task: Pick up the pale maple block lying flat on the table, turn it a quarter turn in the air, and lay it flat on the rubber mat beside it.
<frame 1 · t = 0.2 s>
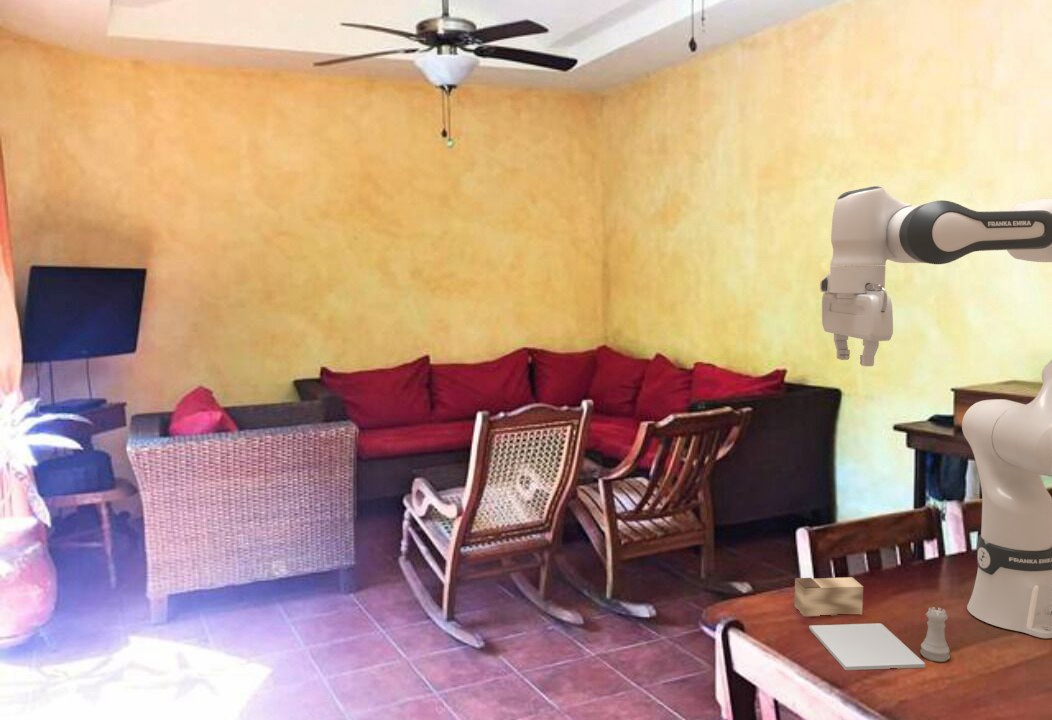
hand: (854, 362, 143), 47 cm above the table, tool pointing down, fingers open, 8 cm apart
rubber mat: (864, 647, 139), on the table
rook chess piece: (934, 657, 135), on the table
maple block: (827, 611, 153), on the table
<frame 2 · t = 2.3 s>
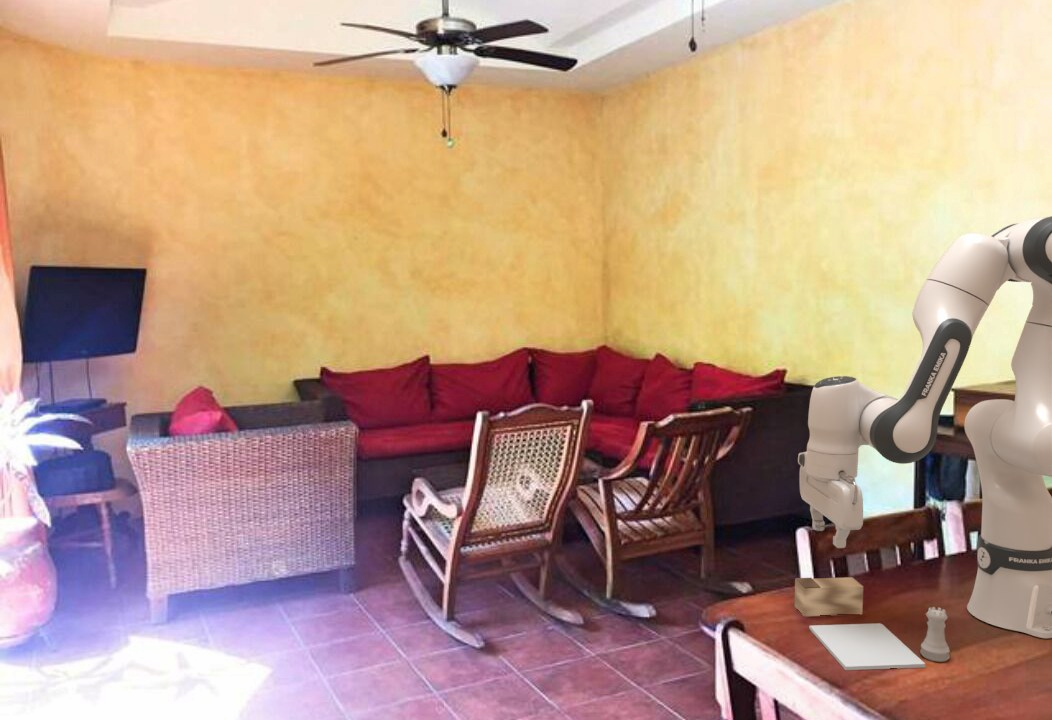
hand: (828, 538, 152), 14 cm above the table, tool pointing down, fingers open, 8 cm apart
nothing on the table moved.
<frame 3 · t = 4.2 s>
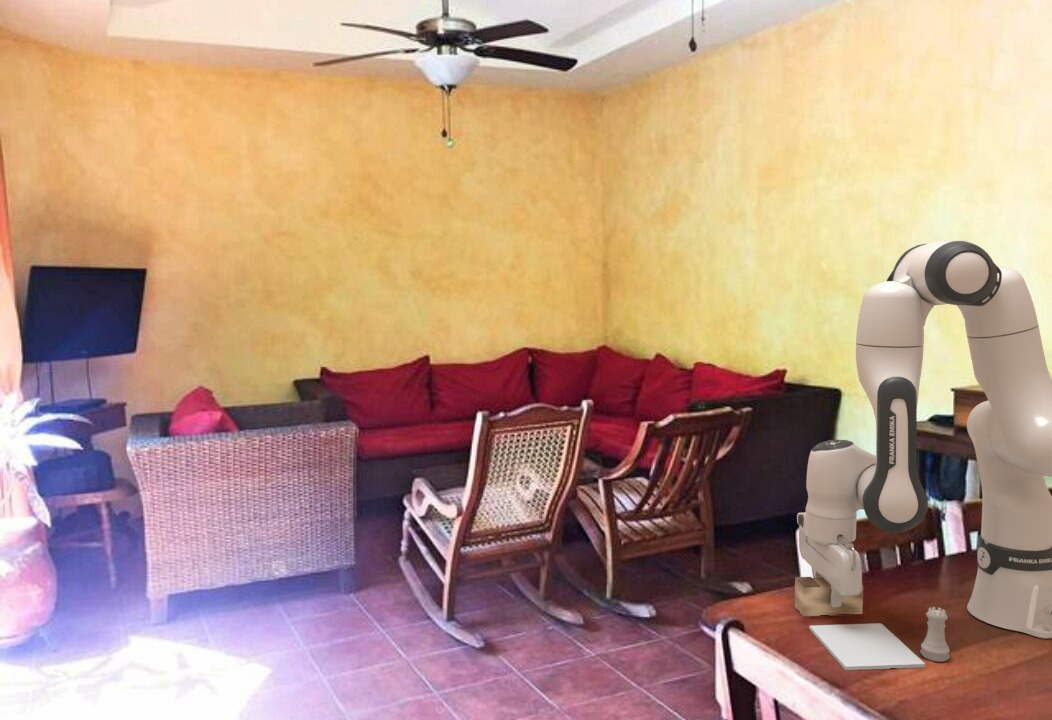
hand: (828, 599, 153), 2 cm above the table, tool pointing down, fingers closed on maple block, 4 cm apart
maple block: (827, 610, 153), on the table, touching gripper
everything else where it was.
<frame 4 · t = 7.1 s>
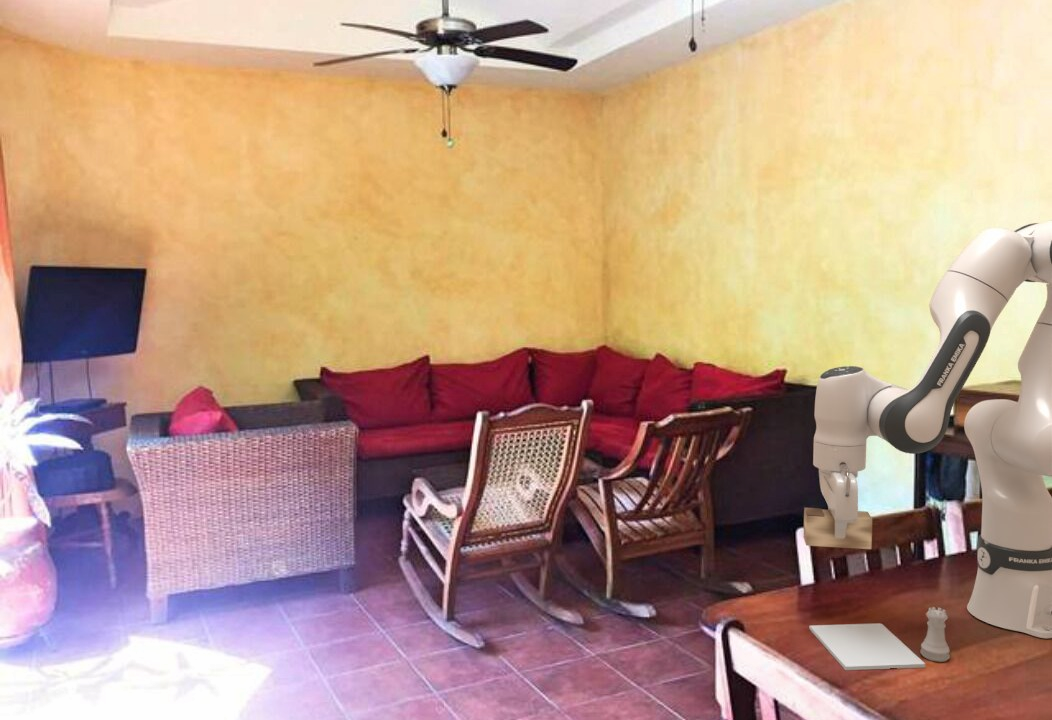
hand: (837, 531, 149), 16 cm above the table, tool pointing down, fingers closed on maple block, 4 cm apart
maple block: (836, 543, 149), point 14 cm above the table, touching gripper
everything else where it was.
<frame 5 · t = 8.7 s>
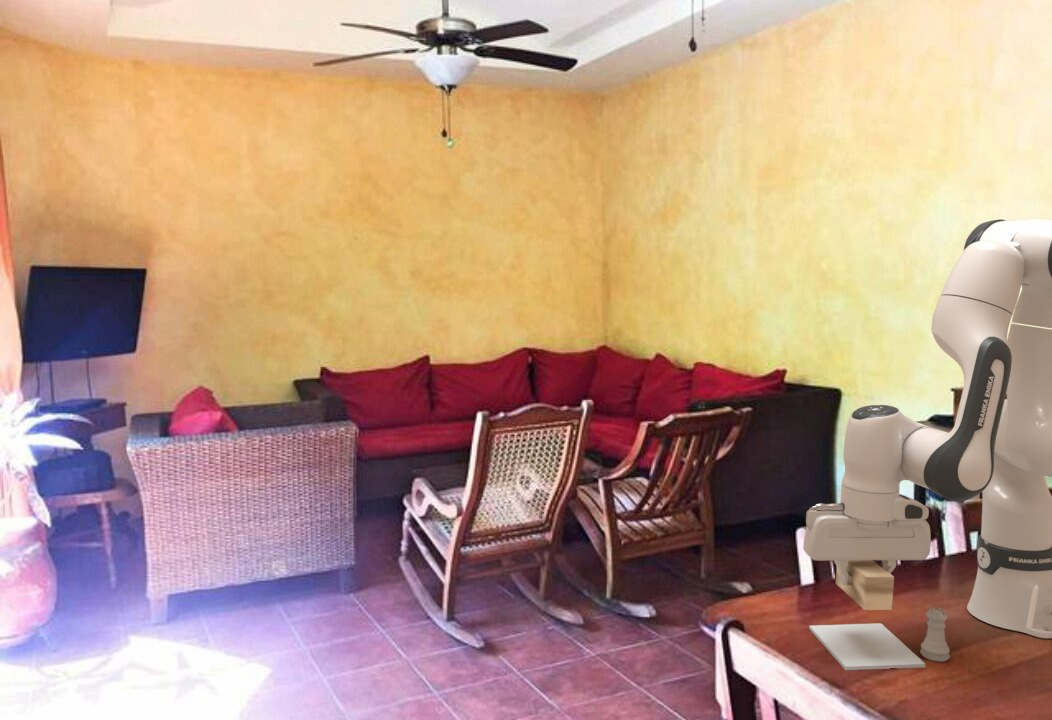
hand: (863, 584, 137), 11 cm above the table, tool pointing down, fingers closed on maple block, 4 cm apart
maple block: (862, 596, 137), point 9 cm above the table, touching gripper
everything else where it was.
when the fingers open (4 cm above the table, at t = 10.2 s): maple block drops 2 cm, resting on rubber mat.
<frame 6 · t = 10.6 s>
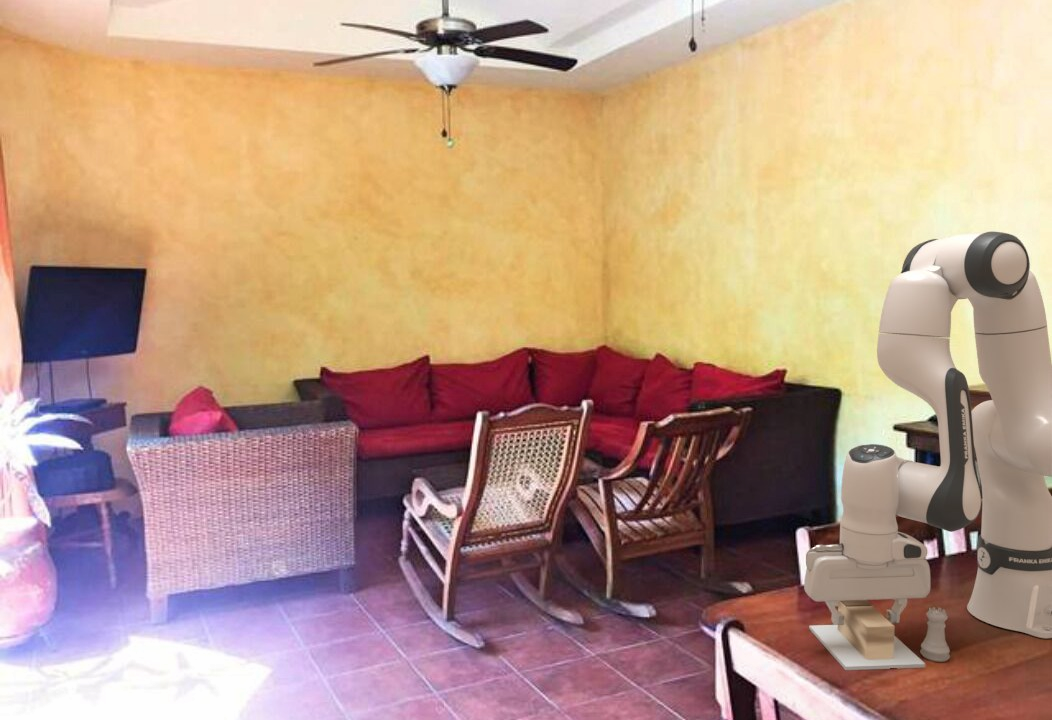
hand: (865, 622, 138), 4 cm above the table, tool pointing down, fingers open, 8 cm apart
maple block: (864, 643, 139), point 1 cm above the table, touching rubber mat
everything else where it was.
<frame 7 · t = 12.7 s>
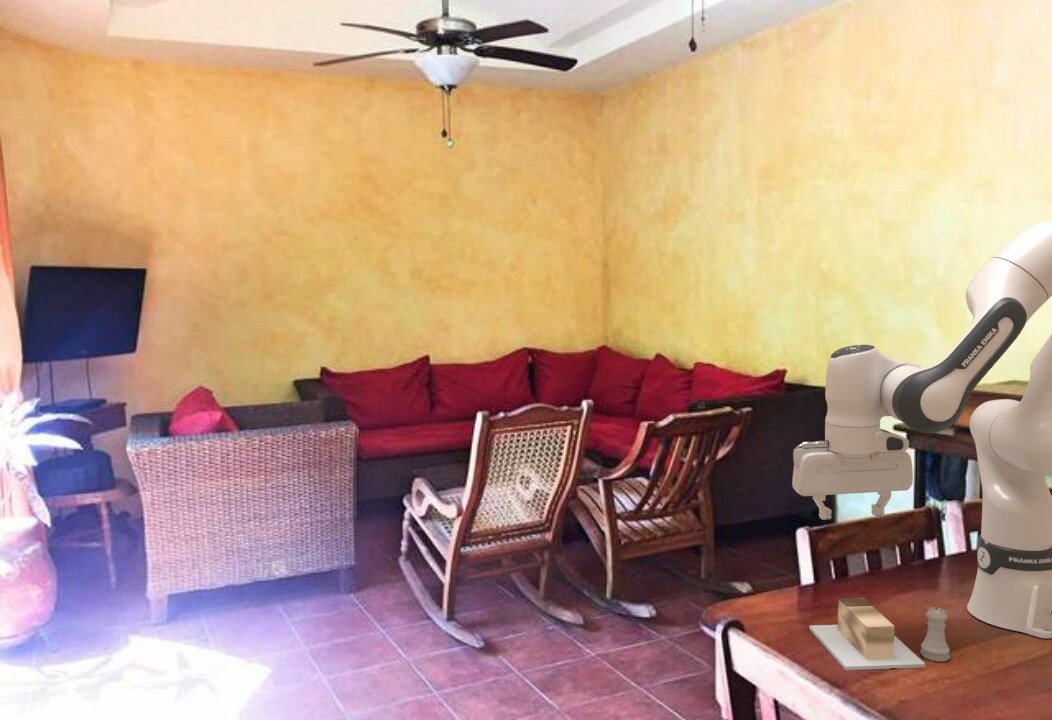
hand: (851, 517, 143), 20 cm above the table, tool pointing down, fingers open, 8 cm apart
nothing on the table moved.
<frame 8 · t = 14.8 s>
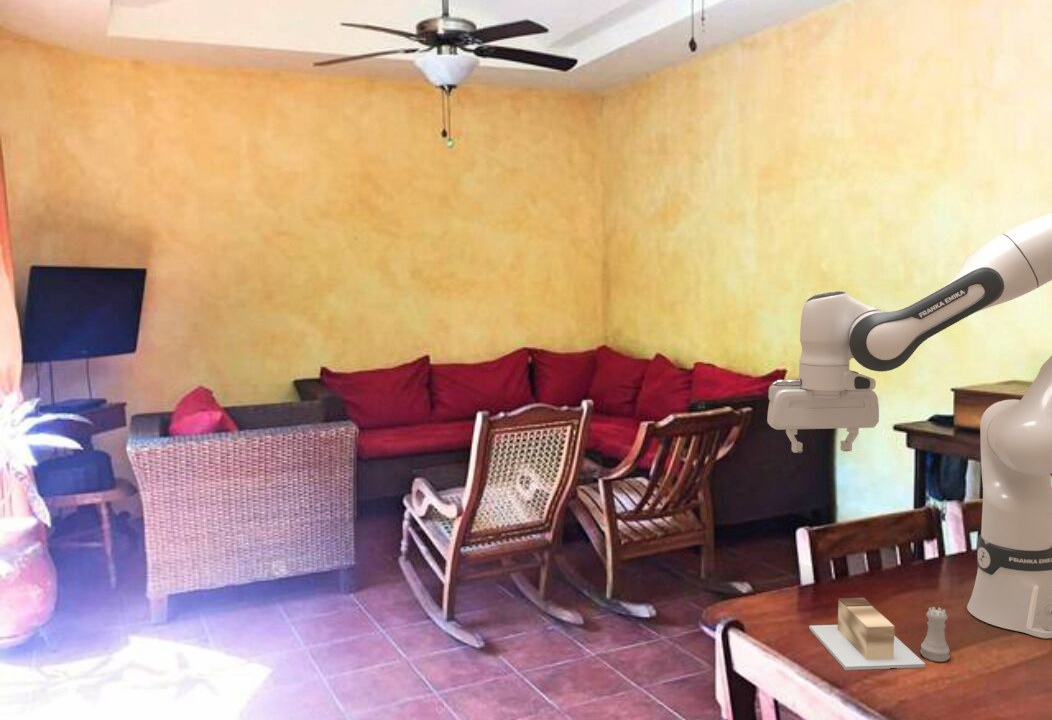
hand: (821, 451, 155), 29 cm above the table, tool pointing down, fingers open, 8 cm apart
nothing on the table moved.
at the end: maple block inside the target area on the rubber mat (0.1 cm from its centre), point 0.6 cm above the rubber mat's base; maple block touching rubber mat; maple block tilted 0° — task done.
